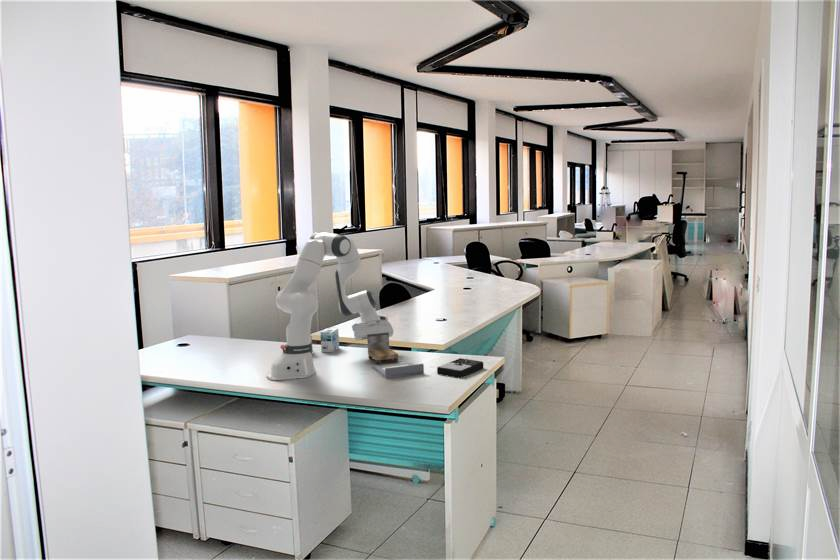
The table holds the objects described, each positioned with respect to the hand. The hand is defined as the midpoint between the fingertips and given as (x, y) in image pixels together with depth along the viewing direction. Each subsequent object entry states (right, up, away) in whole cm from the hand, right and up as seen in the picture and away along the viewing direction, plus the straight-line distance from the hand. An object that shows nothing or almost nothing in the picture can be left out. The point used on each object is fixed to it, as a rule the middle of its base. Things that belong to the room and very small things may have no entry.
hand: (377, 344), depth 345 cm
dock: (+11, -10, -26) cm, 30 cm away
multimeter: (+40, -10, -31) cm, 52 cm away
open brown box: (+3, -7, -7) cm, 11 cm away
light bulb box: (-26, -5, +19) cm, 33 cm away
